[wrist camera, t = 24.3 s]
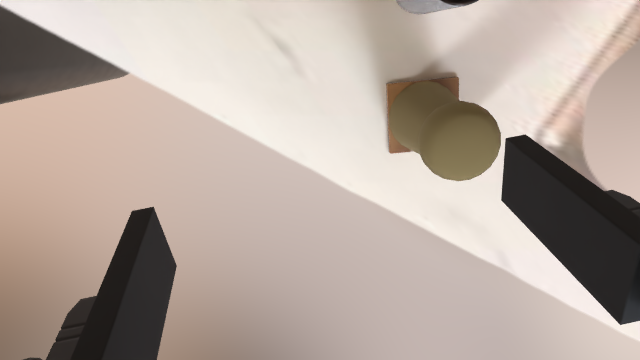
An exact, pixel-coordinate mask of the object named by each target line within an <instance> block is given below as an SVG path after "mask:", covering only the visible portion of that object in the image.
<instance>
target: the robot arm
mask: <svg viewBox="0 0 640 360" xmlns="http://www.w3.org/2000/svg"><path fill="white" fill-rule="evenodd" d="M501 200H502V201H503V202H504V203H505V205H506V206H507V207H508V208H509V209H510V210H511V211H512V212H513V213H514V214H515V215H516V216H517V217H518V218H519V219H520V220H521V221H522V222H523V223H524V224H525V225H526V227H527V228H528V229H529V230H530V231H531V232H532V233H533V234H534V235H535V236H536V237H537V238H538V239H539V240H540V241H541V242H542V243H543V244H544V245H545V246H546V247H547V249H548V250H549V251H550V252H551V253H552V254H553V255H554V256H555V257H556V258H557V259H558V260H559V261H560V262H561V263H562V264H563V265H564V266H565V267H566V268H567V269H568V271H569V272H570V273H571V274H572V275H573V276H574V277H575V278H576V279H577V280H578V281H579V282H580V283H581V284H582V285H583V286H584V287H585V288H586V289H587V290H588V291H589V293H590V294H591V295H592V296H593V297H594V298H595V299H596V300H597V301H598V302H599V303H600V304H601V305H602V306H603V307H604V308H605V309H606V310H607V311H608V312H609V313H610V315H611V316H612V317H613V318H614V319H615V320H616V321H617V322H618V323H619V324H620V325H622V324H627V323H631V322H636V321H640V203H639V202H637V201H636V200H634V199H632V198H631V197H630V196H627V195H624V194H621V193H619V192H617V191H614V190H609V191H603V190H602V189H600V188H599V187H597V186H596V185H595V184H593V183H592V182H591V181H589V180H588V179H586V178H585V177H584V176H582V175H581V174H579V173H578V172H577V171H575V170H574V169H573V168H571V167H570V166H568V165H567V164H566V163H564V162H563V161H561V160H560V159H559V158H557V157H556V156H554V155H553V154H552V153H550V152H549V151H548V150H546V149H545V148H543V147H542V146H541V145H539V144H538V143H536V142H535V141H534V140H532V139H531V138H530V137H528V136H527V135H520V136H515V137H510V138H506V142H505V156H504V170H503V184H502V198H501ZM175 271H176V263H175V260H174V258H173V256H172V253H171V250H170V248H169V245H168V243H167V240H166V237H165V235H164V232H163V230H162V227H161V225H160V222H159V220H158V217H157V215H156V212H155V209H154V207H150V208H145V209H140V210H135V211H132V212H131V215H130V217H129V220H128V222H127V224H126V227H125V229H124V232H123V234H122V236H121V239H120V241H119V244H118V246H117V248H116V251H115V253H114V256H113V258H112V261H111V263H110V265H109V268H108V270H107V273H106V275H105V277H104V280H103V282H102V284H101V287H100V289H99V292H98V294H97V296H94V297H89V298H84V299H81V300H80V301H79V302H78V303H77V304H76V305H75V306H74V307H73V308H72V310H71V311H70V312H69V313H68V314H67V316H66V318H65V321H64V323H63V325H62V327H61V330H60V331H59V333H58V335H57V337H56V342H55V343H54V344H53V346H52V348H51V350H50V352H49V354H48V357H47V359H46V360H157V355H158V351H159V346H160V341H161V337H162V332H163V327H164V323H165V318H166V313H167V308H168V304H169V299H170V294H171V289H172V285H173V281H174V276H175ZM24 360H42V359H40V358H27V359H24Z"/></svg>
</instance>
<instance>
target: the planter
mask: <svg viewBox="0 0 640 360" xmlns="http://www.w3.org/2000/svg"><path fill="white" fill-rule="evenodd" d="M396 1H397V3H398V4H399V5H400V6H401V7H402V8H403V9H404V10H406V11H408V12H410V13H414V14H425V13H430V12H436V11H441V10H446V9H451V8H456V7H461V6H466V5H469V4H472V3H475V2H477V1H478V0H396Z"/></svg>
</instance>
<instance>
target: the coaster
mask: <svg viewBox="0 0 640 360" xmlns="http://www.w3.org/2000/svg"><path fill="white" fill-rule="evenodd" d="M423 81H430V82H436V83H439V84H441V85H443V86H444V87H446V88H448V89H449V90H450V91H451V92H452V93H453V94H454V95H455V96H456V97H457V99H458V100H459V78H458V77H453V78H442V79H431V80H421V81H410V82H399V83H389V84H386V86H387V109H388V132H389V152H390V153H401V152H412V150H410V149H408V148H406V147H404V146H403V145H401V144H400V143H399V142H398V141H397V140H396V139H395V138H394V136H393V134H392V131H391V129H390V125H389V113H390V109H391V105H392V103H393V102H394V100H395V98H396V96H397V95H398V94H399V93H400V92H401V91H402V90H403V89H405V88H406V87H408V86H410V85H412V84H414V83H416V82H423Z"/></svg>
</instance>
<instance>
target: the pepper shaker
mask: <svg viewBox="0 0 640 360" xmlns="http://www.w3.org/2000/svg"><path fill="white" fill-rule="evenodd" d="M389 125H390V129H391V131H392V134H393V136H394V138H395V139H396V140H397V141H398V142H399V143H400V144H401V145H403V146H404V147H406V148H408V149H410V150H412V151H414V152H416V153H419V154H420V155H421V157H422V160H423V162H424V163H425V165H426V166H427V167H428V168H429V169H430V170H431V171H432V172H433V173H434V174H436V175H438V176H440V177H442V178H444V179H449V180H455V181H463V180H470V179H472V178H474V177H477V176H479V175H481V174H482V173H483V172H485V171H486V170H487V169H488V168H489V167H490V166H491V165H492V163H493V162H494V160H495V159H496V157H497V155H498V152H499V149H500V146H501V133H500V130H499V127H498V125H497V122H496V120H495V119H494V118H493V117H492V115H491V114H490V113H489V112H488V111H487V110H486V109H484V108H482V107H480V106H479V105H477V104H474V103H469V102H464V101H459V100H458V99H457V97H456V96H455V95H454V94H453V93H452V92H451V91H450V90H449V89H448V88H446V87H444V86H443V85H441V84H439V83H436V82H430V81H423V82H416V83H414V84H412V85H410V86H408V87H406V88H405V89H403V90H402V91H401V92H400V93H399V94H398V95H397V96H396V98H395V100H394V102H393V103H392V105H391V109H390V113H389Z"/></svg>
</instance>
